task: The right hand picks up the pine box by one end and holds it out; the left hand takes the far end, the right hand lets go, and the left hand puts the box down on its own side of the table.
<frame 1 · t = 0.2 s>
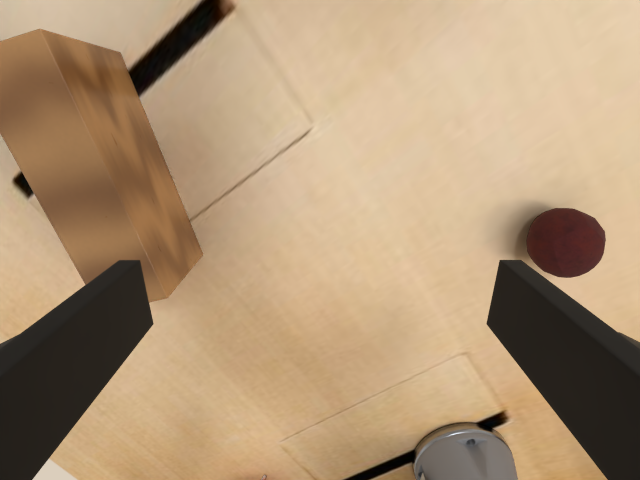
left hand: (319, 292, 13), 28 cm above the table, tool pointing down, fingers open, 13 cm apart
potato: (543, 230, 41), on the table
box: (137, 171, 39), on the table
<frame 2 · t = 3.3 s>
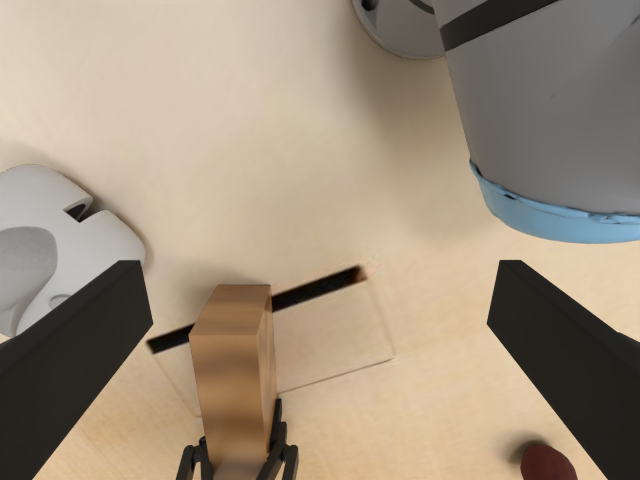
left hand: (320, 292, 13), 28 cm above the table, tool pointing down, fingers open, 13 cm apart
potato: (533, 450, 55), on the table
box: (250, 356, 48), on the table, touching right hand
projector: (67, 259, 43), on the table
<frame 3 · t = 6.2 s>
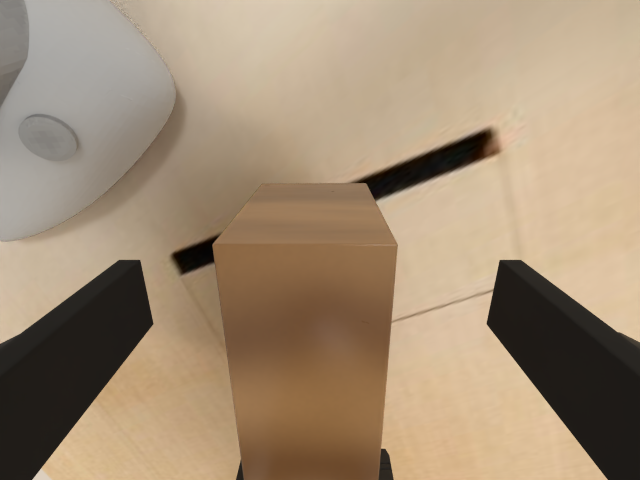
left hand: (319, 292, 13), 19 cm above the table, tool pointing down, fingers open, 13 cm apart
box: (315, 328, 27), point 8 cm above the table, touching right hand
projector: (57, 120, 29), on the table
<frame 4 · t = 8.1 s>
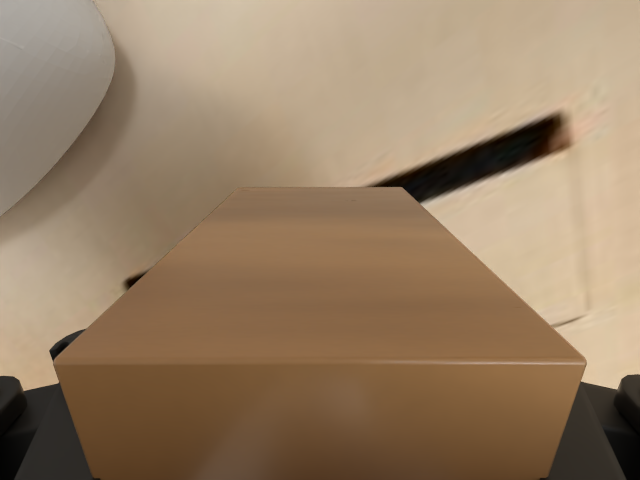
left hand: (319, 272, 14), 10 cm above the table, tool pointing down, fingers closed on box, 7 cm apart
box: (320, 398, 18), point 8 cm above the table, touching left hand, right hand
when the right hand's fingers open (9 cm above the table, at t = 9.0 s): box stays where it is, held by the left hand.
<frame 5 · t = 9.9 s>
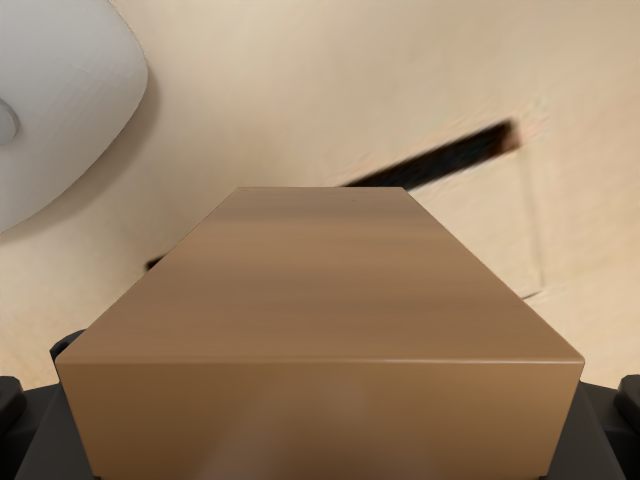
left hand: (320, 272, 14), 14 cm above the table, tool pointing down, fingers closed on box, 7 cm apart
box: (320, 397, 18), point 13 cm above the table, touching left hand
projector: (8, 107, 25), on the table
when the left hand's fingers open (2 cm above the table, at t = 15.9 s): box moves 1 cm, on the table.
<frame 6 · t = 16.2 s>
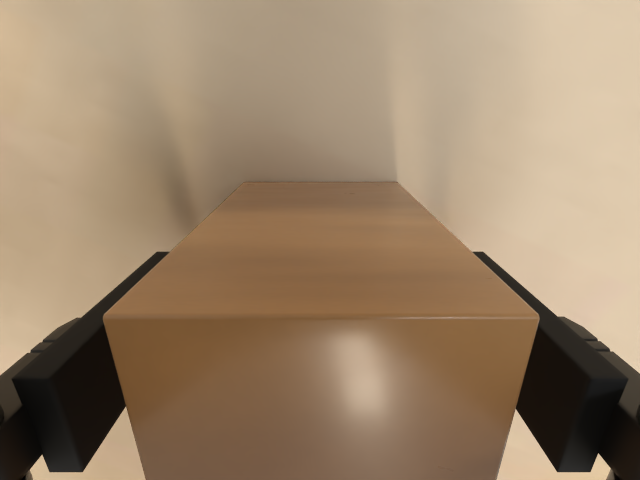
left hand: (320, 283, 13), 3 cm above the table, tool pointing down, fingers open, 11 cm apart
box: (320, 383, 19), on the table
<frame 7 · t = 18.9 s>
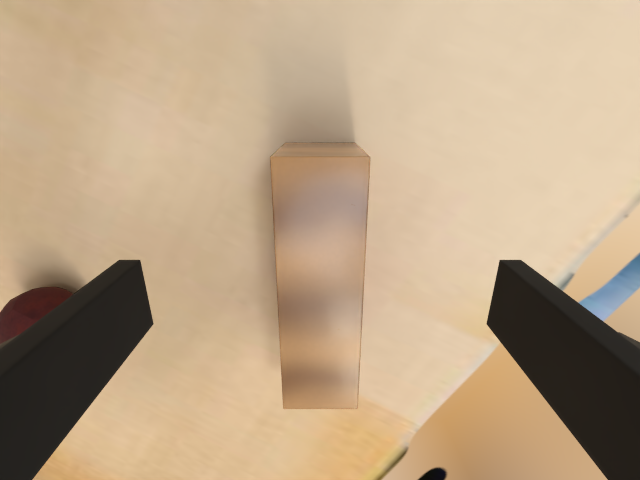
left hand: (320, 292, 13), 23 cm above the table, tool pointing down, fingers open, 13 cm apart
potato: (67, 303, 40), on the table
box: (320, 250, 37), on the table
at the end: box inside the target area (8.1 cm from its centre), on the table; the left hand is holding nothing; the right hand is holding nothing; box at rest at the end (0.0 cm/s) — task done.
